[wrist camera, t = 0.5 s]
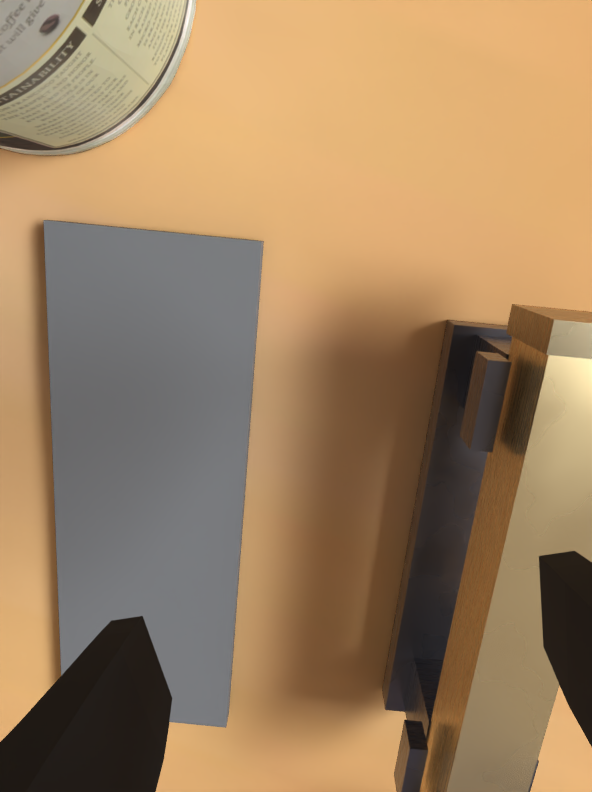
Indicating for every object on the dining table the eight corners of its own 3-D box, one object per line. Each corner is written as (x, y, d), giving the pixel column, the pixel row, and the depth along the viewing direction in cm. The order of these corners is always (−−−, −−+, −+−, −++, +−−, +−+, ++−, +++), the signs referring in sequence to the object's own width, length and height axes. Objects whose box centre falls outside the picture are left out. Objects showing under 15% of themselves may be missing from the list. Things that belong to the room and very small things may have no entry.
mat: (228, 711, 24) (226, 727, 23) (70, 695, 24) (62, 710, 23) (263, 241, 18) (261, 241, 17) (55, 220, 18) (43, 220, 17)
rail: (481, 808, 20) (506, 894, 17) (408, 801, 20) (422, 885, 17) (612, 313, 15) (675, 331, 12) (512, 304, 15) (554, 319, 12)
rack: (477, 699, 23) (520, 822, 19) (380, 689, 23) (397, 810, 19) (565, 331, 19) (654, 366, 14) (444, 319, 19) (489, 350, 14)
